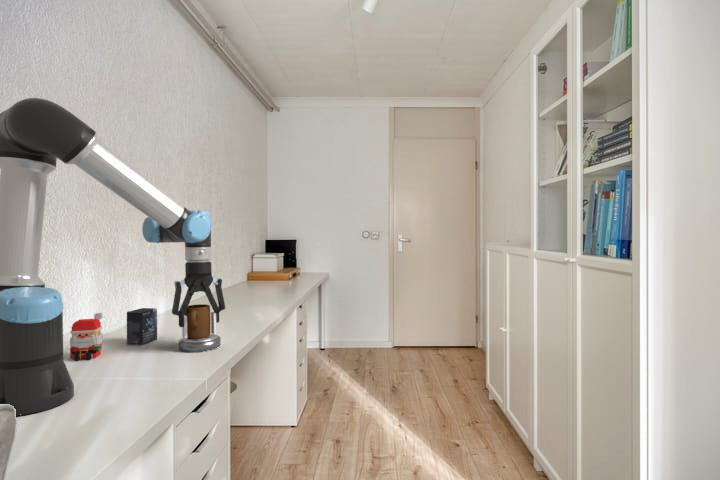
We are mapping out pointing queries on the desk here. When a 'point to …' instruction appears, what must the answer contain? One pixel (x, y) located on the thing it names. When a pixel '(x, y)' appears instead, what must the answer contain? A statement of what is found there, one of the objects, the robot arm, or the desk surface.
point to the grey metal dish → (199, 344)
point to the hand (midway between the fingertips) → (199, 335)
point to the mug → (198, 321)
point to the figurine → (86, 338)
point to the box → (141, 326)
